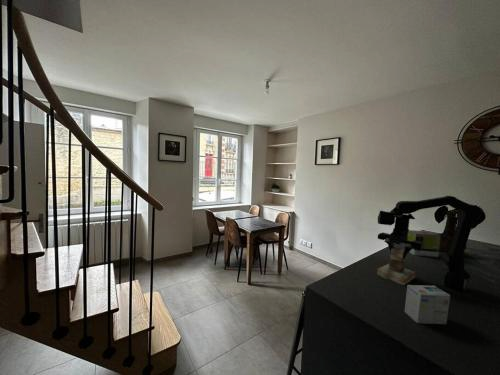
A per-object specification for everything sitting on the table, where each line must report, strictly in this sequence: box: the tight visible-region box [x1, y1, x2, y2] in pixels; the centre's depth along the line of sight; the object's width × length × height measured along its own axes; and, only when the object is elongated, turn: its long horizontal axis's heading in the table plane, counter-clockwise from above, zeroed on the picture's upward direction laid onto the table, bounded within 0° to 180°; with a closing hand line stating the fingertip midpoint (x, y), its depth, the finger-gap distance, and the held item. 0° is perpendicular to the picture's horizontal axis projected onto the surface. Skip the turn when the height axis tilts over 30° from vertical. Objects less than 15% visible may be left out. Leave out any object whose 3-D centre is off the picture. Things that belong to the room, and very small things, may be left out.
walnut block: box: [389, 259, 406, 273], centre depth 110 cm, size 5×5×5 cm
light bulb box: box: [404, 284, 451, 325], centre depth 78 cm, size 11×7×11 cm, turn 92°
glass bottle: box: [437, 211, 467, 253], centre depth 153 cm, size 18×18×28 cm
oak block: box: [389, 246, 407, 262], centre depth 110 cm, size 5×5×5 cm
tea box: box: [405, 229, 440, 258], centre depth 147 cm, size 15×10×15 cm
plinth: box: [376, 262, 416, 286], centre depth 111 cm, size 12×14×3 cm
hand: (397, 257), depth 110 cm, fingers closed on oak block, 5 cm apart
